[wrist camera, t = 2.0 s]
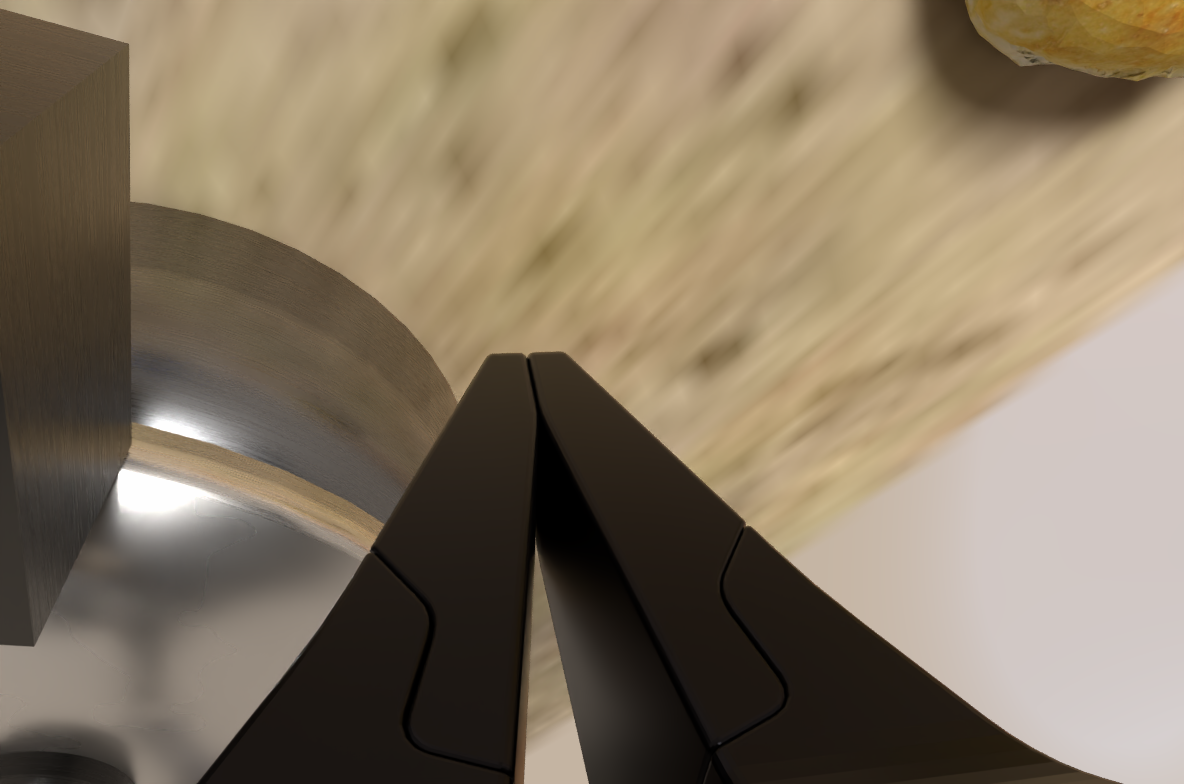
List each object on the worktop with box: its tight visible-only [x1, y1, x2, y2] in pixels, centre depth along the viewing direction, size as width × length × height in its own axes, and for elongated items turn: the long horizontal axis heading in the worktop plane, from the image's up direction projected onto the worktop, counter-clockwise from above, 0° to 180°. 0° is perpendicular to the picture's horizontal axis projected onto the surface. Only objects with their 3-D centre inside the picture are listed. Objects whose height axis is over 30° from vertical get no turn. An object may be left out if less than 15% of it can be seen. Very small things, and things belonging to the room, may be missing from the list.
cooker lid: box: [0, 9, 385, 784], centre depth 11 cm, size 21×16×4 cm
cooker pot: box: [130, 202, 458, 524], centre depth 16 cm, size 20×15×7 cm
